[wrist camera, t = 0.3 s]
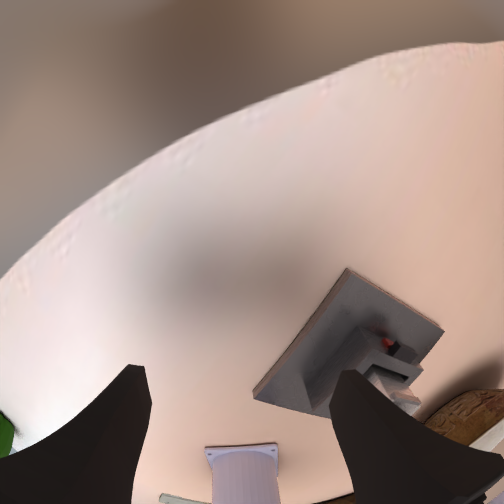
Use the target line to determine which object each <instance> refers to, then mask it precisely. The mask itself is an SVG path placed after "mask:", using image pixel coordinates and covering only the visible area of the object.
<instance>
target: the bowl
mask: <svg viewBox="0 0 504 504" xmlns="http://www.w3.org/2000/svg"><path fill="white" fill-rule="evenodd" d="M424 425H425V426H427V427H428V428H430V429H432V430H433V431H435V432H437V433H439V434H441V435H443V436H445V437H447V438H449V439H451V440H453V441H456V442H458V443H461V444H463V445H466V446H469V447H472V448H475V449H479V450H483V451H487V452H490V451H491V450H492V449H493V448H494V447H495V446H496V445H497V444H498V443H499V442H500V441H501V440H502V439H503V438H504V389H490V390H489V389H487V390H471V391H468V392H465V393H463V394H462V395H460V396H458V397H456V398H455V399H453V400H452V401H450V402H449V403H448V404H446V405H445V406H444V407H442V408H441V409H440V410H439V411H437V412H436V413H435V414H434V415H433V416H432V417H431V418H430V419H428V421H427V422H426V423H425V424H424Z"/></svg>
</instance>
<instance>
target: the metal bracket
mask: <svg viewBox="0 0 504 504" xmlns="http://www.w3.org/2000/svg"><path fill="white" fill-rule="evenodd" d="M159 502H161V503H165V504H211V503H205V502H199V501H194V500H189V499H184V498H182V497H178V496H174V495H170V494H164V493H162V494H161V496H160V498H159Z"/></svg>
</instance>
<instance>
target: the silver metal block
mask: <svg viewBox="0 0 504 504" xmlns="http://www.w3.org/2000/svg"><path fill="white" fill-rule="evenodd" d="M363 376H364V377H365V378H366V379H367V380H368V381H370V382H371V383H372V384H373V385H374V386H375V387H376V388H377V389H378V390H380V391H381V392H382V393H383V394H384V395H385V396H386V397H388V398H389V399H390V400H391V401H392V402H393V403H395V404H396V405H397V406H398V407H400V408H401V409H402V410H403V411H405V412H406V413H407V414H409V415H410V416H412V415H413V414H414V413H415V412H416V411H417V410H418V409H419V408H420V407H421V405H420V404H421V401H420V400H419V398H418V397H415V396H414V394H413V393H412V391H411V390H410V388H409V387H408V385H407V384H406V382H405V381H404V379H403V378H402V376H401V375H400V373H398V372H395V371H392V370H389V369H386V368H384V367H381V366H378V365H376V364H372V365H371V366H370V367H369V368H368V369H367V371H366V372H365V373H364V374H363Z"/></svg>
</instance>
